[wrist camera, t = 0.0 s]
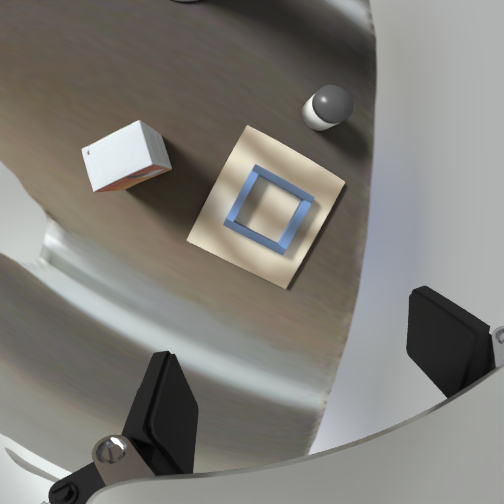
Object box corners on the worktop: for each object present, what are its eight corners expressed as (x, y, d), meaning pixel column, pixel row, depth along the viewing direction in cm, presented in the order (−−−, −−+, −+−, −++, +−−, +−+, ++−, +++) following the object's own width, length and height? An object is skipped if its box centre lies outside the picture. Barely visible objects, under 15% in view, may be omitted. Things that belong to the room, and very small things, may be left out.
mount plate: (246, 126, 37) (248, 122, 34) (342, 181, 39) (350, 182, 36) (187, 239, 40) (184, 243, 37) (284, 286, 43) (288, 294, 40)
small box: (124, 190, 37) (91, 194, 27) (113, 155, 36) (79, 149, 26) (173, 169, 37) (154, 165, 27) (162, 134, 36) (139, 118, 26)
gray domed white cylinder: (310, 93, 36) (325, 77, 29) (339, 110, 37) (358, 99, 30) (295, 119, 37) (308, 107, 30) (325, 137, 38) (343, 129, 31)
